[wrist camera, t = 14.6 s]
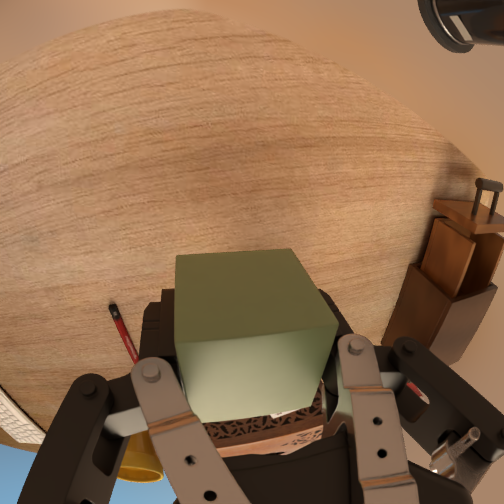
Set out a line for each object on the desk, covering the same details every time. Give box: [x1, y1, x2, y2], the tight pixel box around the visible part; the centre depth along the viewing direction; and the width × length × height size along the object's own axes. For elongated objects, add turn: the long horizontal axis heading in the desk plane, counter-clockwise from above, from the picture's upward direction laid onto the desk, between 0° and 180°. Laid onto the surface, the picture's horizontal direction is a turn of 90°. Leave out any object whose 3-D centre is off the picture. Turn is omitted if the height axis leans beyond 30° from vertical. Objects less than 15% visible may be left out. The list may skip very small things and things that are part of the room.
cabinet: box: [381, 262, 498, 384], centre depth 38 cm, size 16×13×10 cm
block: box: [174, 249, 339, 423], centre depth 10 cm, size 4×4×4 cm
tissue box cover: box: [155, 380, 323, 457], centre depth 41 cm, size 26×14×10 cm, turn 92°
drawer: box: [420, 178, 504, 299], centre depth 32 cm, size 19×11×8 cm, turn 178°
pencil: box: [109, 304, 139, 364], centre depth 33 cm, size 1×14×1 cm, turn 4°
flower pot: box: [117, 430, 164, 483], centre depth 39 cm, size 10×10×10 cm
